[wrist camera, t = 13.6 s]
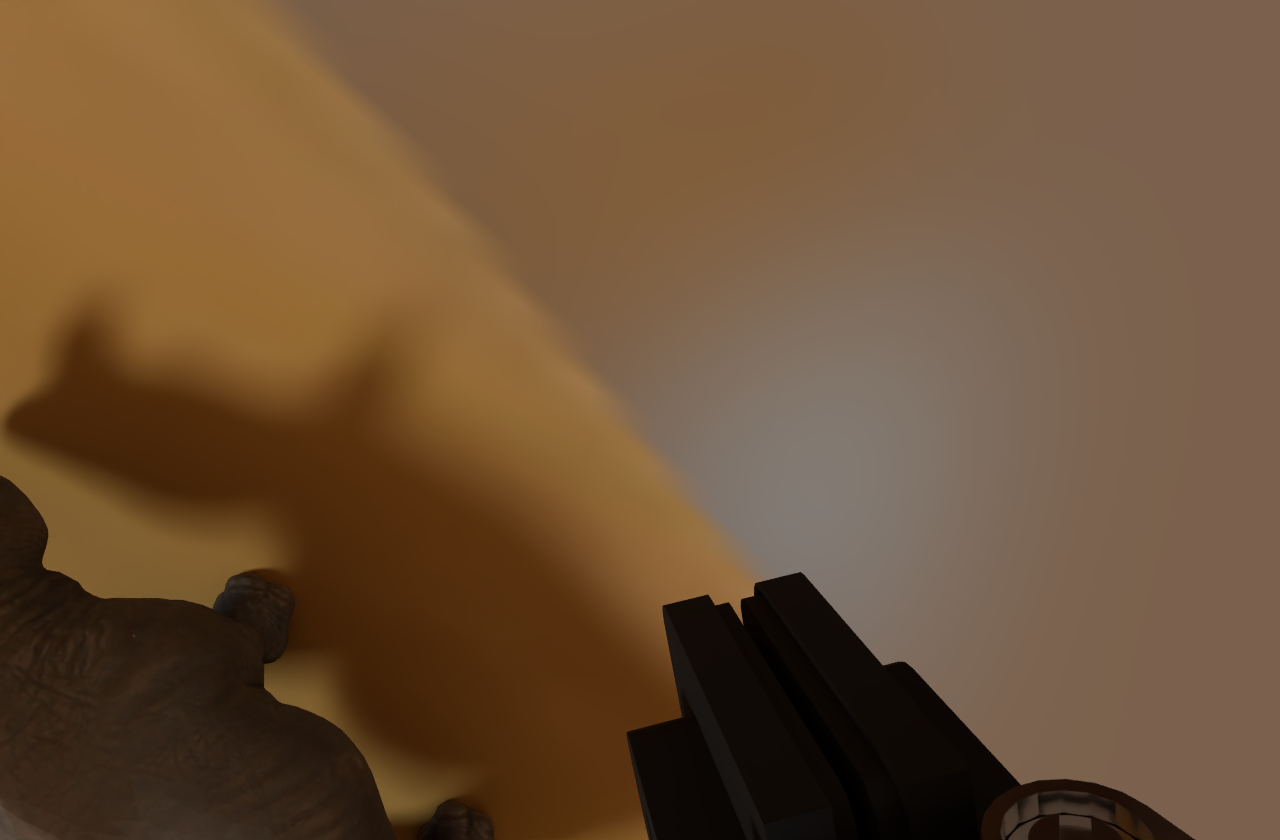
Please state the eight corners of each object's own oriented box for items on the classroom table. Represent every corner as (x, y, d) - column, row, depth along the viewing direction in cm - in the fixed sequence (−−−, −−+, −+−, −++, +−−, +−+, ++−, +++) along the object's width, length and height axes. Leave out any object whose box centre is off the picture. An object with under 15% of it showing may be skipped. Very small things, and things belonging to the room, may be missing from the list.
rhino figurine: (-16, 242, 14) (-345, 258, 8) (535, 820, 18) (567, 1104, 12) (-232, 406, 14) (-710, 533, 8) (366, 952, 18) (318, 1300, 12)
